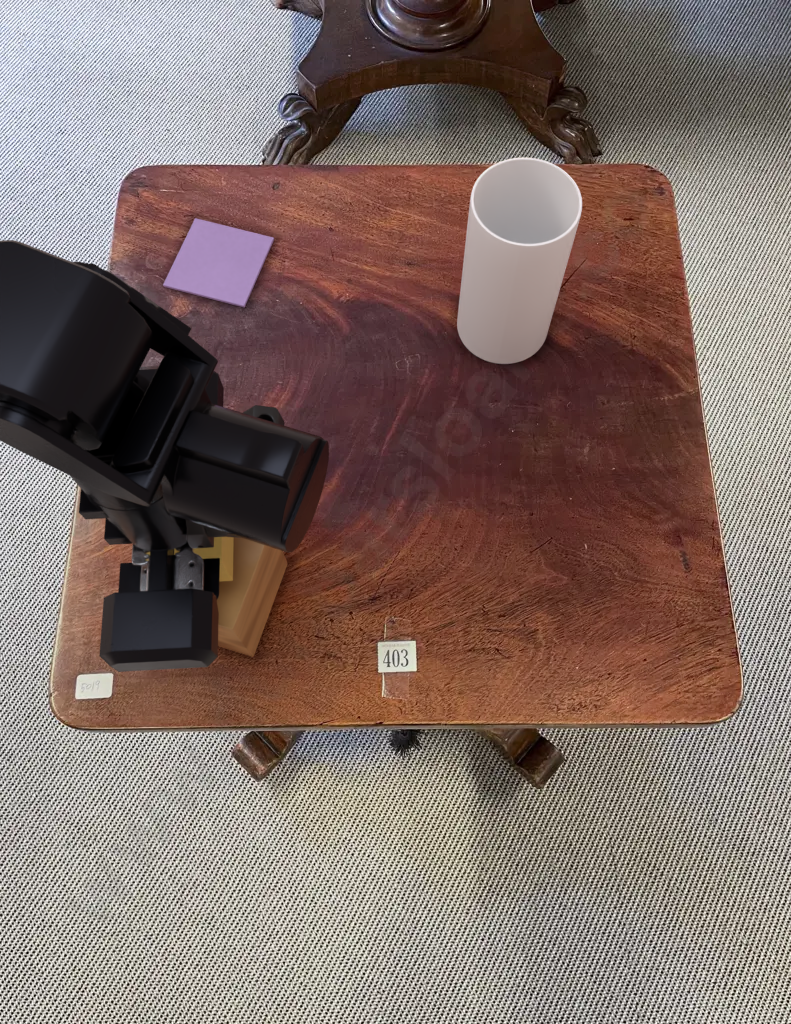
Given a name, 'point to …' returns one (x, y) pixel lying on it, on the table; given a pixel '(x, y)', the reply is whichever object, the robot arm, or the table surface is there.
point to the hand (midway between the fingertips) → (196, 555)
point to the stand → (248, 595)
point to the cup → (515, 257)
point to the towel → (219, 262)
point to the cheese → (219, 555)
